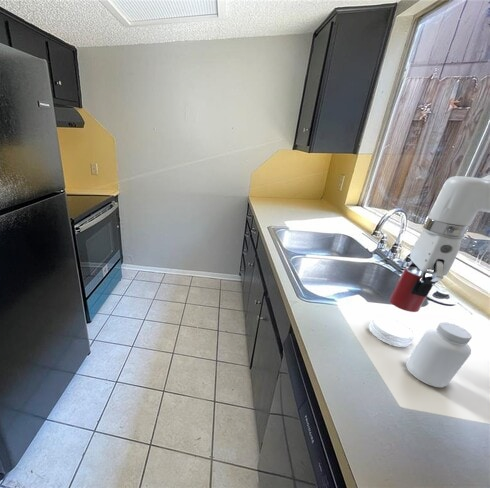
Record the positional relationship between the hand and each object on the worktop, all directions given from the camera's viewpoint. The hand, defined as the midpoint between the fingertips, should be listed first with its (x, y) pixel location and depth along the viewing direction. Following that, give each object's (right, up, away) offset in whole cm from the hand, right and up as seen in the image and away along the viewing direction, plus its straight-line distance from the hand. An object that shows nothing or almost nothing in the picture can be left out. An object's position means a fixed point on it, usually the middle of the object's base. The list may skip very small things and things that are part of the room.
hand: (412, 287), depth 71 cm
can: (0, -5, +3) cm, 6 cm away
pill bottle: (-2, -22, -5) cm, 22 cm away
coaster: (-1, -16, +7) cm, 18 cm away
